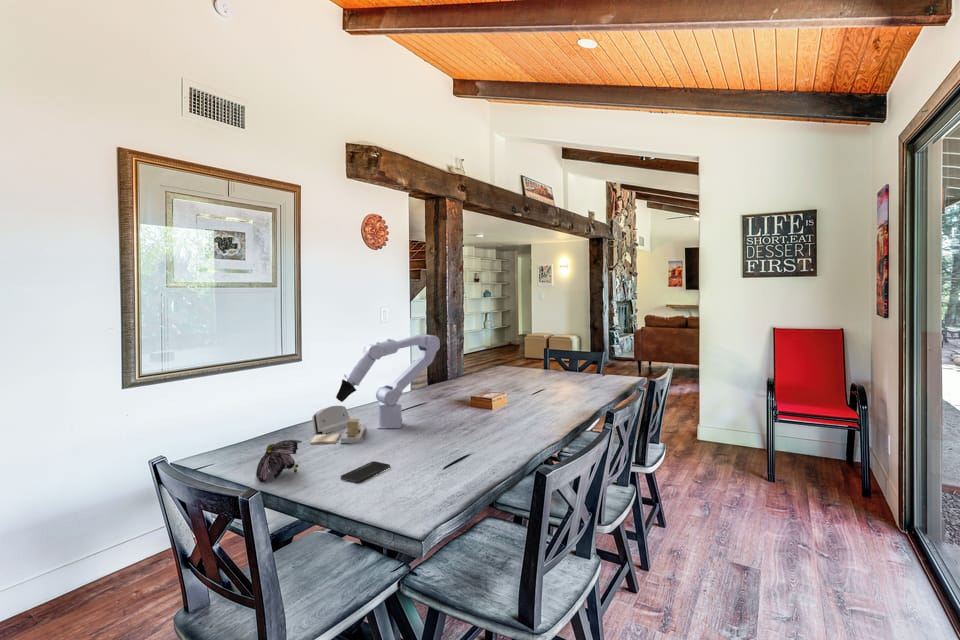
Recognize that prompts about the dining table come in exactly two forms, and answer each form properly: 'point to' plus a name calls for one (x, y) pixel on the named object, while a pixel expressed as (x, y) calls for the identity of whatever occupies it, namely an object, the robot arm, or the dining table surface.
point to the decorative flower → (277, 459)
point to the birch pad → (325, 438)
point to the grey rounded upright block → (330, 419)
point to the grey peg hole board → (353, 435)
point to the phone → (365, 472)
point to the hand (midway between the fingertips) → (338, 400)
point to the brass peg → (353, 426)
